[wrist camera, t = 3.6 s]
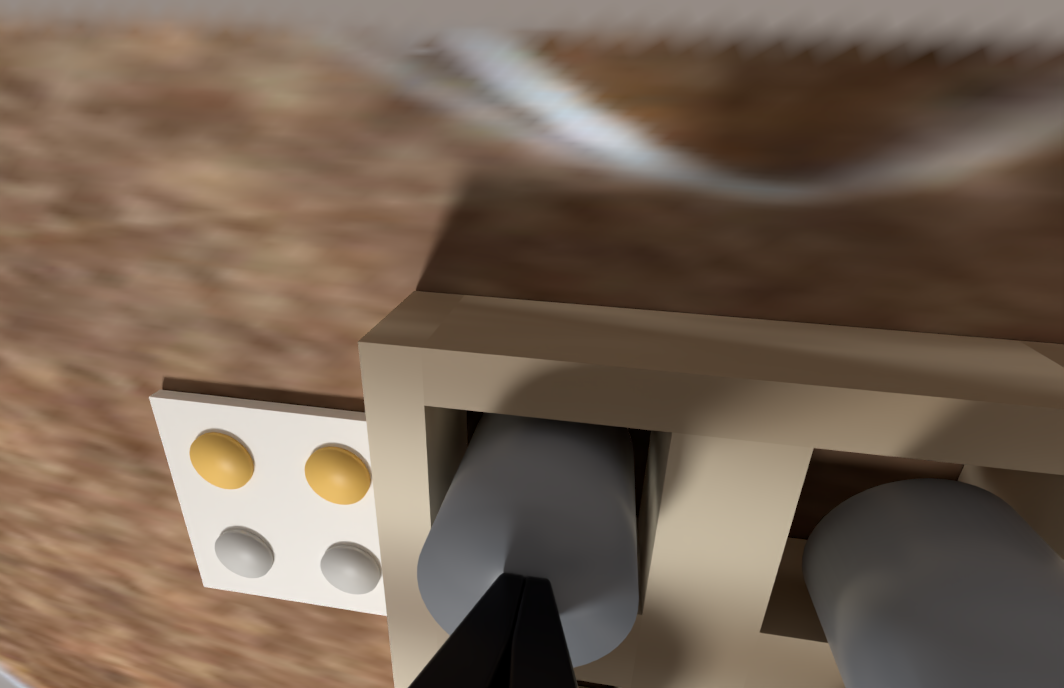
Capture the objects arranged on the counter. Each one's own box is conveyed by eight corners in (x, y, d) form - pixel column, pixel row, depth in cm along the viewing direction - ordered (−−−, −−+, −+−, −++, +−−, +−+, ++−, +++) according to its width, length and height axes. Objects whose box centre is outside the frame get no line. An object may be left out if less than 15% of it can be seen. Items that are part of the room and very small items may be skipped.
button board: (879, 762, 17) (929, 890, 14) (436, 685, 18) (405, 786, 16) (1083, 345, 11) (1235, 425, 8) (414, 290, 13) (357, 341, 10)
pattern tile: (417, 608, 17) (411, 624, 16) (212, 576, 18) (200, 590, 17) (403, 417, 14) (395, 428, 14) (160, 389, 15) (144, 399, 14)
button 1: (983, 647, 11) (1176, 936, 7) (782, 618, 11) (861, 873, 7) (1068, 493, 9) (1373, 757, 5) (829, 466, 10) (961, 693, 6)
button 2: (624, 525, 13) (626, 685, 10) (475, 506, 14) (421, 651, 10) (642, 390, 12) (652, 520, 8) (474, 374, 12) (410, 489, 9)
